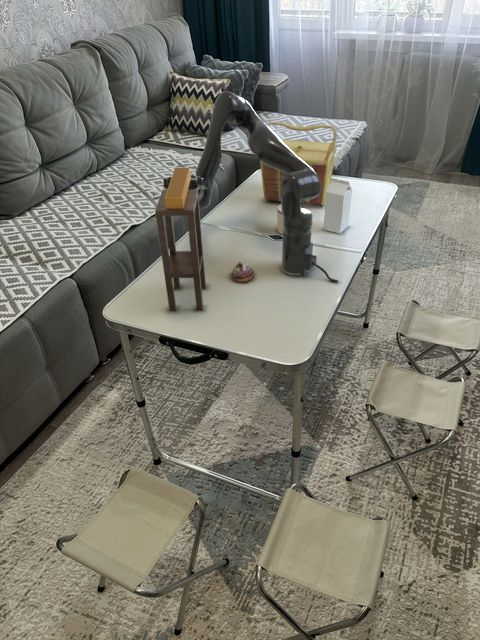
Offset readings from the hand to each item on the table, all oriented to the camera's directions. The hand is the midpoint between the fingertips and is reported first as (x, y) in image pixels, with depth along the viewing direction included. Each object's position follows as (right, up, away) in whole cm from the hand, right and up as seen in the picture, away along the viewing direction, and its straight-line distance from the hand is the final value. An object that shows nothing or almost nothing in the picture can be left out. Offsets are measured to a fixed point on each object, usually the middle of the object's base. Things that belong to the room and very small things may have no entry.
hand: (184, 180), depth 152 cm
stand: (0, -35, +6) cm, 35 cm away
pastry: (+17, -27, +16) cm, 36 cm away
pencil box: (0, -7, -10) cm, 12 cm away
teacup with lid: (+34, -5, +43) cm, 55 cm away
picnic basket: (+39, +15, +67) cm, 79 cm away
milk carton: (+52, -4, +44) cm, 68 cm away
